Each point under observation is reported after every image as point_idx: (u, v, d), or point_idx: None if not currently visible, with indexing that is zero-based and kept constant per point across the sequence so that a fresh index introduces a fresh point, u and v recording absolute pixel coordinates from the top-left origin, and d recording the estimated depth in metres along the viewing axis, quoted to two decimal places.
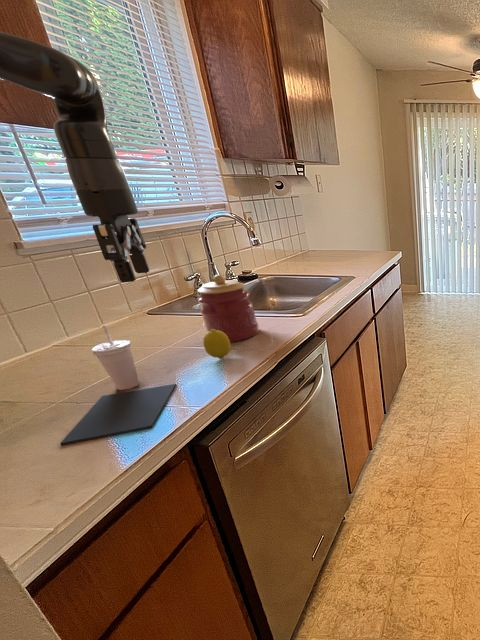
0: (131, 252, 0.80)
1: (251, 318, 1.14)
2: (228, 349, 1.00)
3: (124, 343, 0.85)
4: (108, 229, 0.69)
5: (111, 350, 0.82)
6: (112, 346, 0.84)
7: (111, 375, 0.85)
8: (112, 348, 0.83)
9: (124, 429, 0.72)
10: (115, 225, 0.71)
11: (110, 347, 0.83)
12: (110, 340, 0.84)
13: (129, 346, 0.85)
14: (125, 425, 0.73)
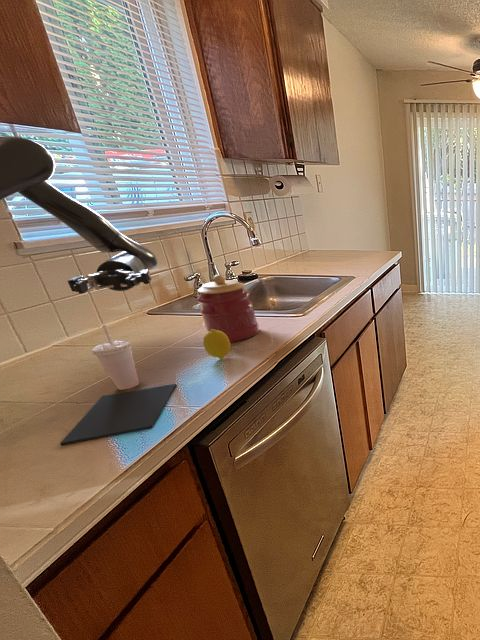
0: None
1: (251, 318, 1.14)
2: (228, 349, 1.00)
3: (124, 343, 0.85)
4: (150, 277, 1.00)
5: (111, 350, 0.82)
6: (112, 346, 0.84)
7: (111, 375, 0.85)
8: (112, 348, 0.83)
9: (124, 429, 0.72)
10: None
11: (110, 347, 0.83)
12: (110, 340, 0.84)
13: (129, 346, 0.85)
14: (125, 425, 0.73)
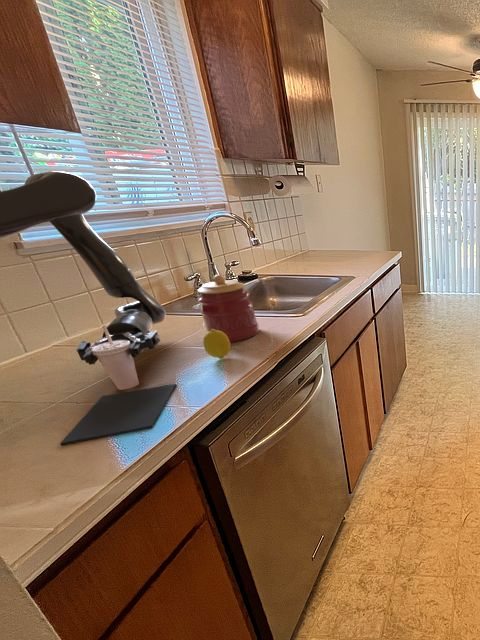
0: None
1: (251, 318, 1.14)
2: (228, 349, 1.00)
3: (124, 343, 0.85)
4: (159, 339, 0.94)
5: (111, 350, 0.82)
6: (112, 346, 0.84)
7: (111, 375, 0.85)
8: (112, 348, 0.83)
9: (124, 429, 0.72)
10: None
11: (110, 347, 0.83)
12: (110, 340, 0.84)
13: (129, 346, 0.85)
14: (125, 425, 0.73)
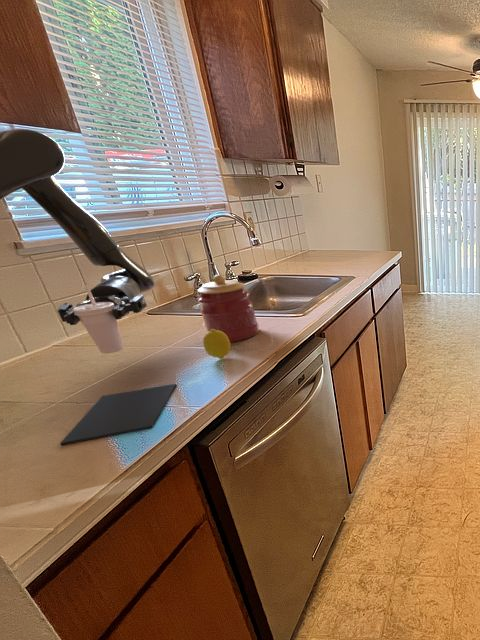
0: None
1: (251, 318, 1.14)
2: (228, 349, 1.00)
3: (107, 304, 0.82)
4: (145, 304, 0.90)
5: (93, 310, 0.79)
6: (94, 307, 0.80)
7: (93, 338, 0.81)
8: (94, 309, 0.79)
9: (124, 429, 0.72)
10: None
11: (92, 308, 0.79)
12: (92, 301, 0.81)
13: None
14: (125, 425, 0.73)
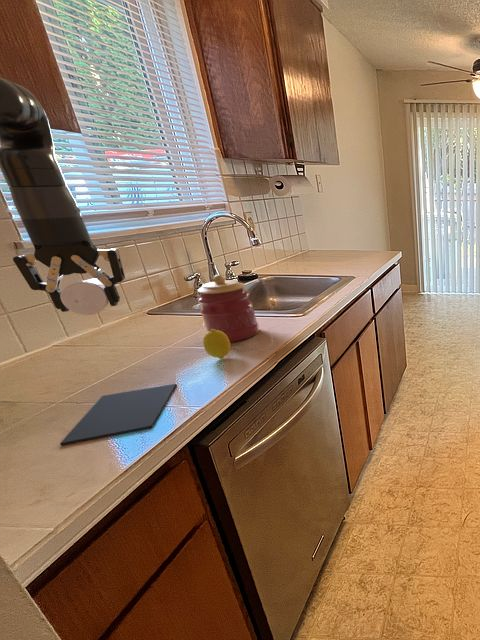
0: (56, 289, 0.72)
1: (251, 318, 1.14)
2: (228, 349, 1.00)
3: (99, 296, 0.75)
4: (118, 253, 0.76)
5: (94, 313, 0.75)
6: (89, 304, 0.74)
7: None
8: (93, 309, 0.75)
9: (124, 429, 0.72)
10: (97, 249, 0.74)
11: (88, 306, 0.74)
12: (82, 298, 0.73)
13: (107, 299, 0.76)
14: (125, 425, 0.73)
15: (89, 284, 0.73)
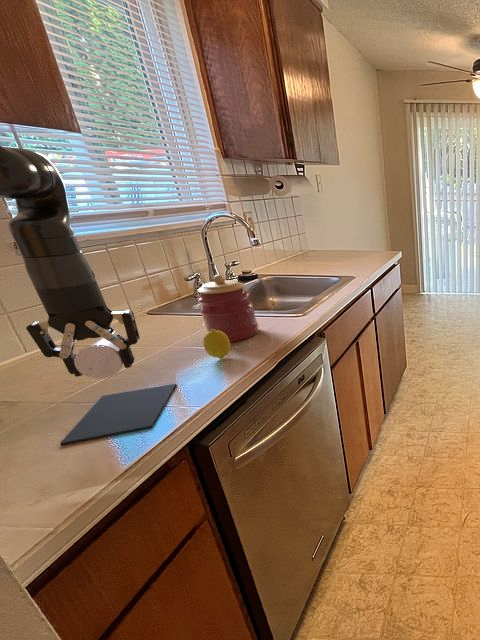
0: (70, 355, 0.70)
1: (251, 318, 1.14)
2: (228, 349, 1.00)
3: (113, 359, 0.73)
4: (133, 314, 0.74)
5: None
6: (103, 367, 0.72)
7: None
8: (107, 372, 0.73)
9: (124, 429, 0.72)
10: None
11: (103, 370, 0.72)
12: None
13: (121, 361, 0.74)
14: (125, 425, 0.73)
15: (103, 348, 0.71)
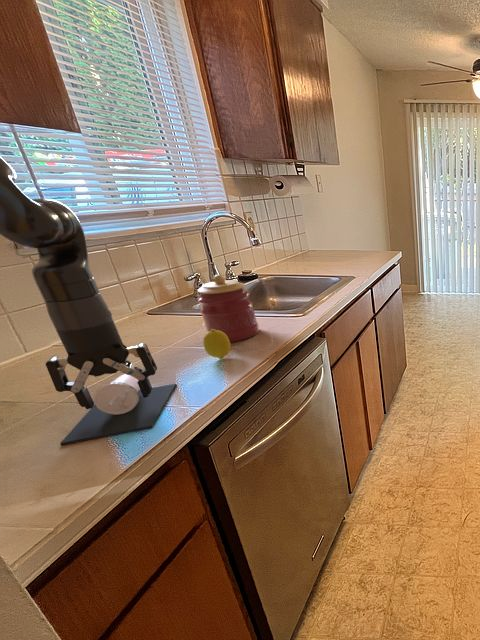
0: (81, 388, 0.73)
1: (251, 318, 1.14)
2: (228, 349, 1.00)
3: (130, 395, 0.76)
4: (146, 346, 0.76)
5: None
6: (121, 404, 0.76)
7: None
8: (124, 408, 0.76)
9: (124, 429, 0.72)
10: (126, 347, 0.75)
11: (120, 406, 0.76)
12: None
13: (138, 397, 0.77)
14: (125, 425, 0.73)
15: (122, 385, 0.75)
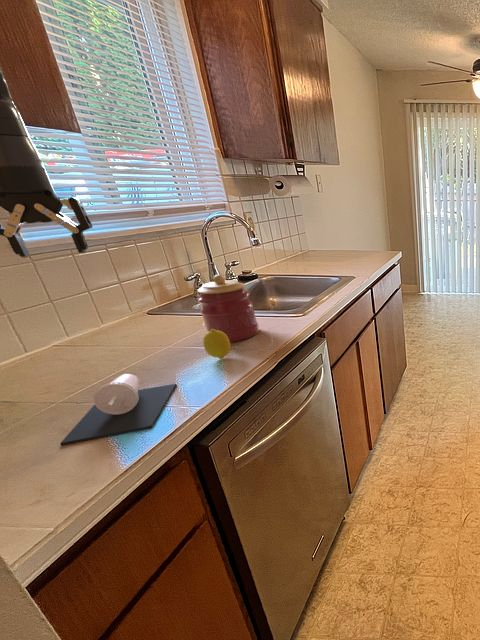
0: (14, 234, 0.76)
1: (251, 318, 1.14)
2: (228, 349, 1.00)
3: (130, 395, 0.76)
4: (80, 201, 0.80)
5: None
6: (120, 404, 0.76)
7: None
8: (123, 408, 0.76)
9: (124, 429, 0.72)
10: None
11: (120, 406, 0.76)
12: None
13: (137, 397, 0.77)
14: (125, 425, 0.73)
15: (121, 385, 0.75)
